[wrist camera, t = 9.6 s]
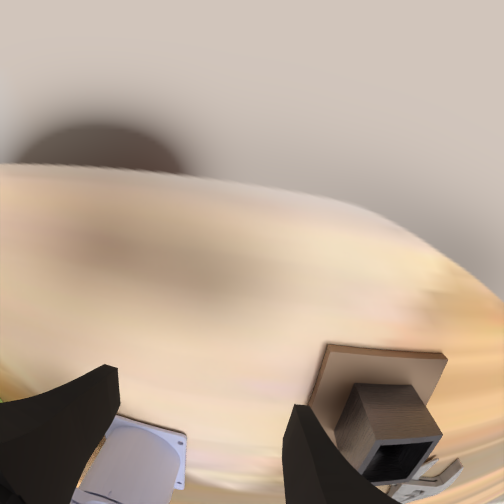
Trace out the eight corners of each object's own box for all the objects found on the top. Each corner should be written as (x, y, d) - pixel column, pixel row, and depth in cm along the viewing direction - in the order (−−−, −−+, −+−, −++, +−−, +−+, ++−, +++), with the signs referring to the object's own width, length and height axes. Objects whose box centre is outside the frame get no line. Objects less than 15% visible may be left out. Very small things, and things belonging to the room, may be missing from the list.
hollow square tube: (388, 431, 21) (408, 481, 15) (333, 430, 21) (346, 487, 15) (412, 384, 20) (443, 434, 14) (354, 382, 20) (376, 439, 14)
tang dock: (397, 442, 22) (407, 468, 19) (294, 441, 22) (296, 471, 19) (442, 353, 20) (463, 376, 17) (328, 344, 20) (337, 372, 17)
